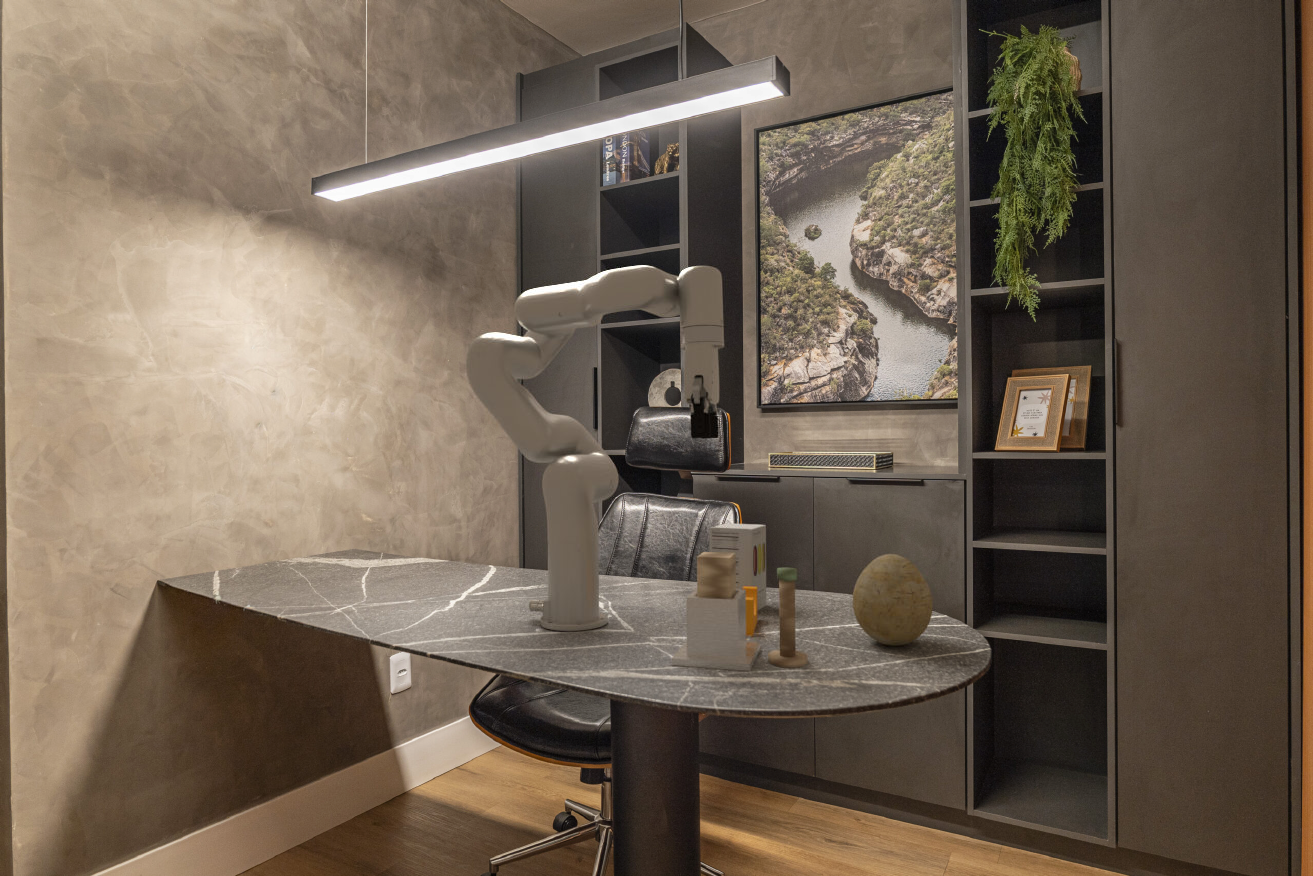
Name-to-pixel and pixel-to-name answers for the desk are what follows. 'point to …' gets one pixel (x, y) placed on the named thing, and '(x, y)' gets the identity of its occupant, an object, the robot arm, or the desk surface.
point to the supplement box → (744, 554)
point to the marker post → (787, 623)
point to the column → (716, 575)
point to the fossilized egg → (892, 600)
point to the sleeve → (717, 634)
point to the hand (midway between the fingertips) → (705, 438)
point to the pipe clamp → (751, 609)
